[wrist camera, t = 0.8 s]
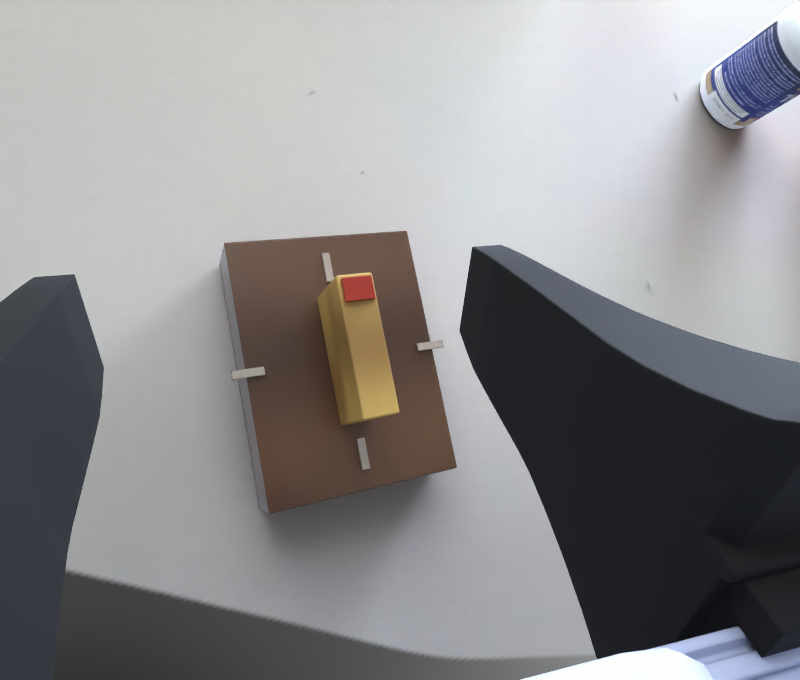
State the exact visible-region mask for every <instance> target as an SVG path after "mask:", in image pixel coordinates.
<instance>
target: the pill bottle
mask: <svg viewBox="0 0 800 680" xmlns="http://www.w3.org/2000/svg"><path fill="white" fill-rule="evenodd" d="M700 93H701V97H702V100H703V103H704V105H705V106H706V108H707V110H708V111H709V113H710V114H711V115H712V116H713V118H714V119H715V120H717V121H718V122H719V123H720V124H722V125H723V126H725V127H728V128H731V129H739V128H743V127H745V126H747V125H749V124H751V123H753V122H754V121H756V120H758V119H759V118H761V117H763V116H764V115H766V114H768V113H769V112H771V111H773V110H774V109H776V108H778V107H779V106H781V105H783V104H784V103H786V102H788V101H790V100H791V99H793V98H795V97H796V96H798V95H800V3H797V4H794V5H792V6H791V7H789V8H788V9H786V10H784V11H783V12H782V13H781V14H779V15H778V16H777V17H775V18H774V19H773V20H772V21H770V22H769V23H768V24H766V25H765V26H764V27H762V28H761V29H760V30H758V31H757V32H755V33H754V34H753V35H752V36H750V37H749V38H748V39H746V40H745V41H744V42H742V43H741V44H740V45H738V46H737V47H736V48H734V49H733V50H731V51H730V52H729V53H727V54H726V55H725V56H724V57H722V58H721V59H719V60H718V61H717V62H715V63H714V64H713V65H712V66H711V67H710V68H708V69H707V70H706V71H705V73H704V74H703V76H702V79H701V83H700Z"/></svg>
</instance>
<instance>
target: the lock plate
mask: <svg viewBox="0 0 800 680" xmlns="http://www.w3.org/2000/svg"><path fill="white" fill-rule="evenodd" d="M220 271H221V277H222V283H223V290H224V296H225V302H226V308H227V314H228V320H229V326H230V332H231V338H232V345H233V351H234V357H235V363H236V369H237V371H231V375H232V380H236V379H238V381H239V387H240V393H241V400H242V406H243V412H244V418H245V424H246V430H247V436H248V442H249V448H250V455H251V461H252V467H253V473H254V479H255V485H256V491H257V497H258V503H259V509H260V510H263V511H265V512H267V513H269V514H271V513H275V512H279V511H283V510H287V509H291V508H295V507H299V506H303V505H307V504H311V503H316V502H320V501H324V500H328V499H332V498H336V497H340V496H344V495H348V494H352V493H356V492H360V491H364V490H368V489H372V488H376V487H380V486H384V485H388V484H392V483H396V482H401V481H405V480H409V479H413V478H417V477H421V476H425V475H429V474H433V473H437V472H441V471H445V470H449V469H453V468H456V467H457V466H456V461H455V456H454V452H453V447H452V442H451V438H450V433H449V428H448V423H447V419H446V414H445V409H444V404H443V400H442V395H441V390H440V386H439V381H438V376H437V371H436V367H435V362H434V357H433V353H432V349H436V348H443V347H444V343H443V340H438V341H432V342H430V338H429V334H428V329H427V324H426V319H425V315H424V310H423V305H422V301H421V296H420V291H419V286H418V282H417V277H416V272H415V268H414V263H413V258H412V253H411V249H410V244H409V239H408V235H407V231H397V232H381V233H366V234H351V235H336V236H321V237H306V238H291V239H276V240H261V241H246V242H231V243H224V247H223V251H222V256H221V260H220ZM359 273H372V277H373V282H374V287H375V292H376V297H377V302H378V307H379V312H380V317H381V322H382V327H383V332H384V337H385V342H386V347H387V352H388V357H389V362H390V367H391V372H392V377H393V382H394V387H395V392H396V397H397V402H398V407H399V413H398V414H394V415H390V416H386V417H382V418H378V419H374V420H369V421H364V422H359V423H354V424H349V425H344V426H341V424H340V419H339V413H338V408H337V403H336V397H335V392H334V386H333V381H332V376H331V370H330V365H329V360H328V354H327V349H326V344H325V338H324V333H323V327H322V322H321V317H320V311H319V306H318V301H317V298H318V297H319V296H320V295H321V293H322V292H323V291H324V290H325V289H326V287H327V286H328V285H329V284H330V283H331V282H332V280H333V279H334V278H335V277H336V276H338V275H349V274H359Z"/></svg>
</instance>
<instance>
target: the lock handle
mask: <svg viewBox="0 0 800 680" xmlns="http://www.w3.org/2000/svg"><path fill="white" fill-rule="evenodd" d="M317 301H318V306H319V311H320V317H321V322H322V327H323V333H324V338H325V344H326V349H327V354H328V360H329V365H330V370H331V376H332V381H333V386H334V392H335V397H336V403H337V408H338V413H339V419H340V424H341V426H344V425H349V424H354V423H359V422H364V421H369V420H374V419H378V418H382V417H386V416H390V415H394V414H398V413H399V407H398V402H397V397H396V392H395V387H394V382H393V377H392V372H391V367H390V362H389V357H388V352H387V347H386V342H385V337H384V332H383V327H382V322H381V317H380V312H379V307H378V302H377V297H376V292H375V287H374V282H373V277H372V273H359V274H349V275H338V276H336V277H335V278H334V279H333V280H332V282H331V283H330V284H329V285H328V286H327V287H326V289H325V290H324V291H323V292H322V293H321V295H320V296H319V297H318V298H317Z"/></svg>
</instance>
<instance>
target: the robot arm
mask: <svg viewBox="0 0 800 680" xmlns="http://www.w3.org/2000/svg"><path fill="white" fill-rule="evenodd" d="M460 333H461V336H462V339H463V342H464V345H465V348H466V351H467V353H468V356H469V358H470V361H471V364H472V366H473V369H474V371H475V373H476V375H477V377H478V379H479V380H480V382H481V384H482V386H483V388H484V390H485V391H486V393H487V395H488V397H489V399H490V401H491V402H492V404H493V406H494V408H495V409H496V411H497V413H498V415H499V417H500V418H501V420H502V422H503V424H504V426H505V427H506V429H507V431H508V433H509V435H510V436H511V438H512V440H513V442H514V443H515V445H516V447H517V449H518V451H519V452H520V454H521V456H522V458H523V460H524V462H525V464H526V466H527V468H528V470H529V472H530V475H531V477H532V480H533V482H534V484H535V487H536V489H537V492H538V494H539V496H540V499H541V501H542V504H543V506H544V508H545V511H546V513H547V516H548V518H549V521H550V523H551V526H552V529H553V531H554V534H555V537H556V539H557V542H558V544H559V547H560V550H561V552H562V555H563V557H564V560H565V563H566V566H567V569H568V572H569V575H570V577H571V580H572V583H573V586H574V589H575V592H576V595H577V598H578V600H579V603H580V606H581V609H582V612H583V615H584V618H585V622H586V625H587V628H588V631H589V634H590V638H591V641H592V644H593V647H594V650H595V654H596V657H597V660H594V661H590V662H586V663H582V664H578V665H575V666H571V667H567V668H563V669H559V670H556V671H552V672H548V673H544V674H540V675H537V676H533V677H529V678H525V679H522V680H800V363H798V362H794V361H789V360H785V359H780V358H776V357H772V356H768V355H764V354H760V353H756V352H752V351H748V350H745V349H741V348H738V347H734V346H731V345H728V344H724V343H721V342H718V341H714V340H711V339H708V338H705V337H702V336H699V335H696V334H693V333H690V332H687V331H684V330H681V329H679V328H676V327H673V326H671V325H668V324H665V323H663V322H660V321H658V320H655V319H652V318H650V317H647V316H645V315H643V314H640V313H638V312H635V311H633V310H631V309H629V308H627V307H624V306H622V305H620V304H618V303H616V302H614V301H612V300H609V299H607V298H605V297H603V296H601V295H599V294H597V293H595V292H593V291H591V290H589V289H587V288H585V287H583V286H581V285H579V284H577V283H575V282H574V281H572V280H570V279H568V278H566V277H564V276H562V275H560V274H559V273H557V272H555V271H553V270H551V269H549V268H547V267H545V266H544V265H542V264H540V263H538V262H536V261H534V260H532V259H530V258H528V257H526V256H525V255H523V254H521V253H518V252H516V251H514V250H512V249H510V248H507V247H505V246H502V245H495V246H480V247H472V253H471V259H470V266H469V272H468V279H467V285H466V292H465V298H464V305H463V311H462V318H461V324H460ZM103 372H104V367H103V364H102V361H101V357H100V354H99V351H98V348H97V345H96V341H95V338H94V335H93V332H92V329H91V326H90V322H89V319H88V316H87V313H86V310H85V306H84V303H83V300H82V297H81V294H80V291H79V287H78V284H77V281H76V278H75V275H59V276H45V277H34V278H33V279H31V280H29V281H28V282H26V283H25V284H24V285H22V286H21V287H19V288H18V289H17V290H15V291H14V292H13V293H12V294H10V295H9V296H8V297H6V298H5V299H4V300H3V301H1V302H0V680H53V677H54V665H55V655H56V645H57V635H58V626H59V616H60V606H61V599H62V591H63V590H62V589H63V583H64V575H65V567H66V559H67V552H68V546H69V541H70V536H71V531H72V526H73V522H74V518H75V514H76V510H77V506H78V502H79V498H80V494H81V490H82V486H83V482H84V478H85V474H86V470H87V466H88V462H89V458H90V454H91V450H92V446H93V442H94V438H95V434H96V430H97V425H98V421H99V417H100V408H101V398H102V385H103Z"/></svg>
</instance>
